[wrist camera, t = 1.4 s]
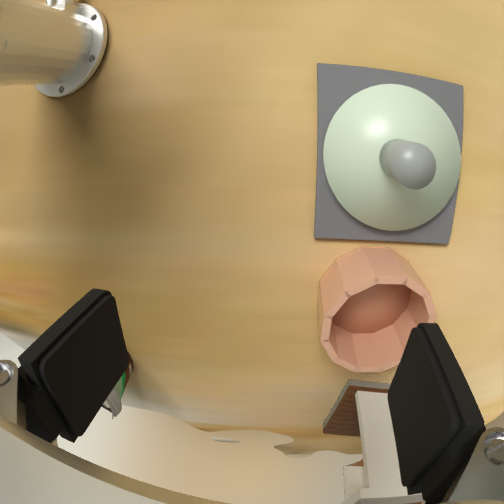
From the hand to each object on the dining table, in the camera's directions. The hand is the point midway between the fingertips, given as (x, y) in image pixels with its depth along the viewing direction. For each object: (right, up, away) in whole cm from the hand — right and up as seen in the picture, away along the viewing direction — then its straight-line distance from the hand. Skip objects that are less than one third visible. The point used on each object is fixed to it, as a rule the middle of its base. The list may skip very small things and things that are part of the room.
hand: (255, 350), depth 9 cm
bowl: (+14, -2, +26) cm, 30 cm away
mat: (+14, +13, +20) cm, 28 cm away
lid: (+14, +12, +19) cm, 27 cm away
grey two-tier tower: (+18, -21, +34) cm, 44 cm away
